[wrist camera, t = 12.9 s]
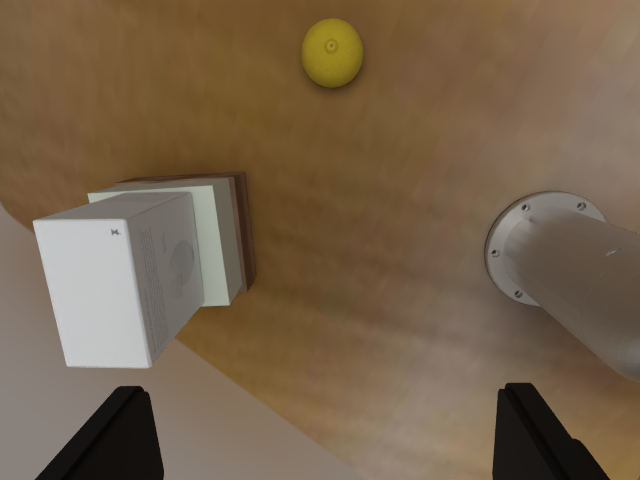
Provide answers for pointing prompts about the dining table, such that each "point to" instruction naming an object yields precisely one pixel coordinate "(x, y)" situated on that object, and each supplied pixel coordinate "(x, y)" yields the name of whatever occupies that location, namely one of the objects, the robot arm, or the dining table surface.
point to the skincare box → (121, 276)
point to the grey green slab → (204, 232)
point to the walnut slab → (239, 214)
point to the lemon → (332, 52)
